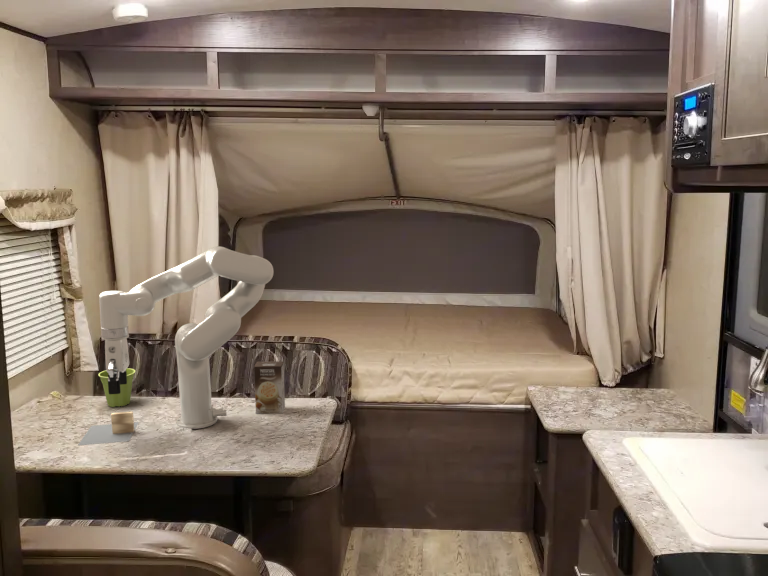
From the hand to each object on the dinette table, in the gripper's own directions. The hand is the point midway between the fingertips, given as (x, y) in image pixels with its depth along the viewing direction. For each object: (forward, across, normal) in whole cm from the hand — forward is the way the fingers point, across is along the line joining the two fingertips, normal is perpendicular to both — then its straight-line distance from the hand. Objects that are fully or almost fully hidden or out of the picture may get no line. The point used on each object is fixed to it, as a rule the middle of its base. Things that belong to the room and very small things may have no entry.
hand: (118, 388), depth 196 cm
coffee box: (+13, +11, -45) cm, 48 cm away
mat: (+14, 0, +3) cm, 15 cm away
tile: (+14, 0, -1) cm, 14 cm away
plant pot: (+14, +30, +6) cm, 34 cm away
